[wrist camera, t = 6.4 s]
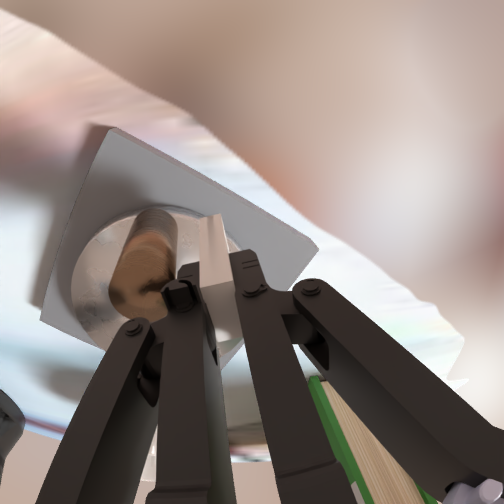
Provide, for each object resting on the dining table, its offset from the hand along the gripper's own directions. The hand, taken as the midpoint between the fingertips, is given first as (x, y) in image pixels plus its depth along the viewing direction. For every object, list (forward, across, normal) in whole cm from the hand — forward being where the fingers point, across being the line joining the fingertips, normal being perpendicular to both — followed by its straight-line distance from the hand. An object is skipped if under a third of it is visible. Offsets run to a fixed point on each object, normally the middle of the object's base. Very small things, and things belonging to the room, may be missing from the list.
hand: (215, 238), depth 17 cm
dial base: (+7, +5, +6) cm, 10 cm away
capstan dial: (+5, +5, +6) cm, 9 cm away
